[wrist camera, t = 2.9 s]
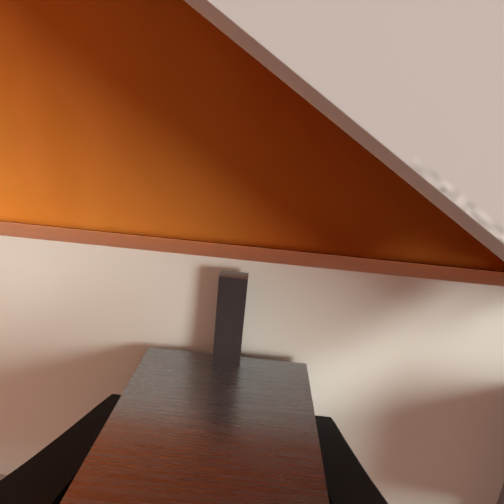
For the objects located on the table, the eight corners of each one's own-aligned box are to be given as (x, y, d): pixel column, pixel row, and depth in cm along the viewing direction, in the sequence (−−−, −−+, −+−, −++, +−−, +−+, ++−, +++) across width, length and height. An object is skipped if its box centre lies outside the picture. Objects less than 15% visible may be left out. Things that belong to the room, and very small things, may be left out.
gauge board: (686, 290, 10) (1172, 469, 5) (584, 541, 12) (833, 860, 7) (-196, 201, 10) (-704, 271, 5) (-143, 461, 12) (-454, 708, 7)
